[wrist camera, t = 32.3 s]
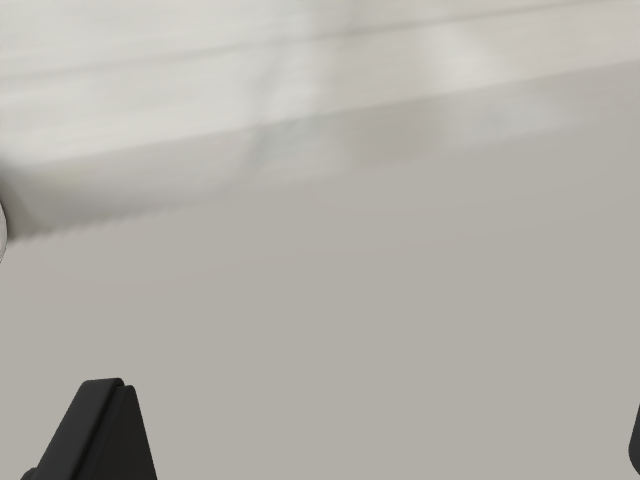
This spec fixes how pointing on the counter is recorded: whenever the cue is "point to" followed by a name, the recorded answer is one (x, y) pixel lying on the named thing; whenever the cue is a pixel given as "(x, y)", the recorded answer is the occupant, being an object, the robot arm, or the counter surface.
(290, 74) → the counter surface
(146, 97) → the counter surface
